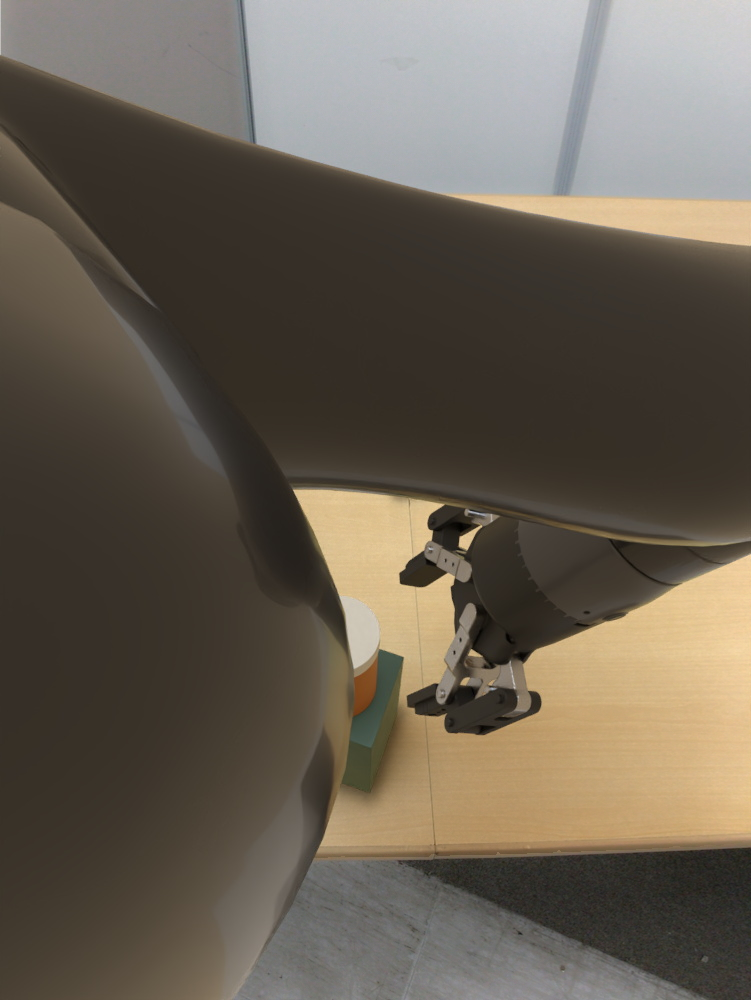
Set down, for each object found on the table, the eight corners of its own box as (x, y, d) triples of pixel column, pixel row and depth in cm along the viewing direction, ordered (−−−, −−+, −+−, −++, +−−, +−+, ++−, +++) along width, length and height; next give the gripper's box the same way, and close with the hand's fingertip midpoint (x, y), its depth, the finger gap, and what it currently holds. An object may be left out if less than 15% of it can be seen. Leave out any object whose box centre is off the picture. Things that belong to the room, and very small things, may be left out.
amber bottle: (363, 730, 58) (363, 683, 50) (294, 705, 59) (284, 655, 51) (387, 664, 61) (391, 609, 53) (321, 642, 62) (316, 585, 54)
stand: (369, 793, 69) (371, 748, 57) (290, 763, 70) (276, 714, 58) (397, 713, 73) (404, 656, 61) (321, 686, 74) (314, 626, 63)
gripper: (504, 418, 40) (361, 536, 52) (544, 682, 33) (370, 746, 45) (606, 449, 43) (449, 553, 56) (661, 695, 37) (469, 751, 49)
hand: (414, 640), depth 50 cm, fingers open, 8 cm apart
